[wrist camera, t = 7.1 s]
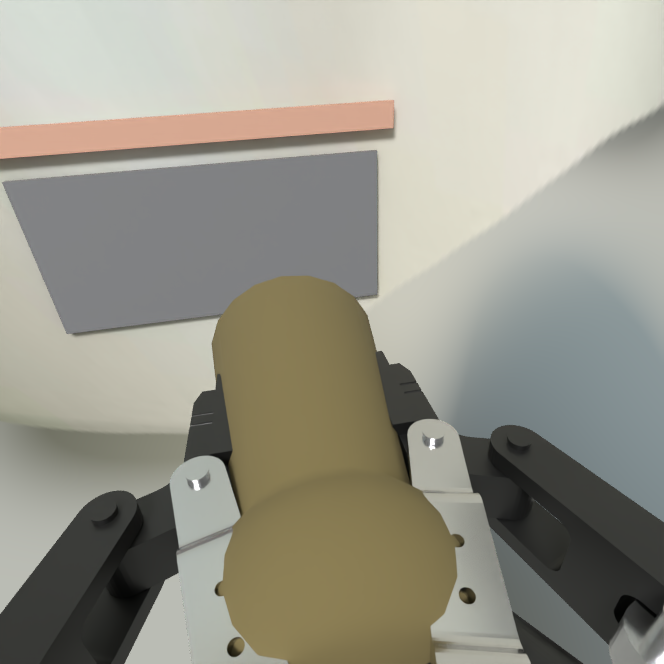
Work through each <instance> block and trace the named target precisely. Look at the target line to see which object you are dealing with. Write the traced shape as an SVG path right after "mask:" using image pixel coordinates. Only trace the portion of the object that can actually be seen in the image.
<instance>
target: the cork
mask: <svg viewBox="0 0 664 664" xmlns="http://www.w3.org/2000/svg"><path fill="white" fill-rule="evenodd" d="M212 350H213V360H214V369H215V377H216V380H217V374H220V375H221V380H222V387H223V393H224V399H225V405H226V411H227V418H228V424H229V430H230V436H231V443H232V449H233V451H232V454H231V457H230V460H229V463H228V465H229V472H230V479H231V486H232V490H233V493H234V497H235V500H236V503H237V506H238V510H239V513H240V516H241V517H240V519H239V520H238V521H237V522H236V523H235V524H234V525H233V526H232V529H233V532H232V536H231V539H230V542H229V544H228V547H227V550H226V552H225V556H224V570H223V581H222V582H221V583H220V585H219V587H218V589H217V592H216V595H217V596H224V598H225V602H226V605H227V609H228V612H229V616H230V619H231V622H232V625H233V627H234V628H235V629H236V630H237V631H238V632H239V634H240V635H241V636H242V637H243V638H244V640H245V641H246V642H247V643H248V644H249V646H250V647H251V648H252V649H253V650H254V651H255V653H256V654H257V655H259V656H264V657H270V658H276V659H283V660H287V662H288V664H428V663H430V641H431V633H430V626H431V625H433V624H434V623H435V622H436V621H437V620H438V619H439V618H440V617H442V616H443V615H444V614H445V611H446V608H447V605H448V602H449V600H450V597H451V594H452V591H453V588H454V585H455V582H456V580H457V577H458V576H457V564H456V552H455V547H462V546H461V545H460V543H459V542H458V540H457V539H456V538H455V536H453V535H451V534H450V532H449V530H448V528H447V526H446V524H445V522H444V520H443V518H442V516H441V514H440V512H439V511H438V510H437V509H436V508H435V507H434V506H433V505H432V504H431V503H430V502H429V501H428V500H427V498H426V497H425V496H424V494H423V491H421V490H419V489H417V488H415V487H413V486H411V485H410V481H409V477H408V473H407V469H406V465H405V461H404V457H403V454H402V450H401V446H400V442H399V438H398V434H397V432H396V431H395V429H394V428H393V427H392V424H391V421H390V418H389V414H388V409H387V405H386V400H385V395H384V391H383V386H382V382H381V377H380V372H379V368H378V363H377V358H376V354H375V352H377V351H376V347H375V343H374V339H373V335H372V331H371V328H370V324H369V320H368V316H367V314H366V313H365V311H364V310H363V308H362V307H361V306H360V304H359V303H358V301H357V300H356V299H355V297H354V296H352V295H351V294H350V293H348V292H347V291H345V290H344V289H342V288H341V287H339V286H338V285H336V284H335V283H333V282H329V281H326V280H322V279H319V278H315V277H312V276H280V277H277V278H274V279H271V280H268V281H265V282H262V283H259V284H256V285H254V286H252V287H251V288H250V289H248V290H247V291H245V292H244V293H243V294H241V295H240V296H238V297H237V298H235V299H234V300H233V301H232V302H231V304H230V305H229V306H228V308H227V309H226V310H225V312H224V313H223V315H222V316H221V317H220V319H219V320H218V323H217V326H216V330H215V333H214V337H213V341H212ZM459 597H460V599H461V601H462V602H464V603H466V604H470V603H469V600H468V598H467V596H466V595H465V594H464V593H459ZM244 640H243V639H241V638H240V639H238V640H237V641H236V642H235V644H234V646H233V648H232V652H231V657H237V656H239V655H240V654H241V653H242V652H243V650H244V647H245V642H244Z"/></svg>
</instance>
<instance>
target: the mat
mask: <svg viewBox="0 0 664 664" xmlns="http://www.w3.org/2000/svg"><path fill="white" fill-rule="evenodd" d="M2 184H3V186H4V188H5V191H6V193H7V195H8V198H9V200H10V202H11V205H12V207H13V209H14V212H15V214H16V216H17V219H18V221H19V223H20V226H21V228H22V230H23V233H24V235H25V237H26V240H27V242H28V244H29V247H30V249H31V251H32V254H33V256H34V258H35V261H36V263H37V265H38V268H39V270H40V272H41V275H42V277H43V279H44V282H45V284H46V286H47V289H48V291H49V293H50V296H51V298H52V300H53V303H54V305H55V307H56V310H57V312H58V314H59V317H60V319H61V321H62V324H63V326H64V328H65V331H66V333H67V334H71V333H79V332H87V331H95V330H102V329H110V328H118V327H126V326H134V325H142V324H149V323H157V322H165V321H173V320H181V319H189V318H196V317H204V316H212V315H220V314H223V313H224V312H225V310H226V309H227V308H228V306H229V305H230V304H231V302H232V301H233V300H234V299H235V298H237V297H238V296H240V295H241V294H243V293H244V292H245V291H247V290H248V289H250V288H251V287H252V286H254V285H256V284H259V283H262V282H265V281H268V280H271V279H274V278H277V277H280V276H312V277H315V278H319V279H322V280H326V281H329V282H333V283H335V284H336V285H338V286H339V287H341V288H342V289H344V290H345V291H347V292H348V293H350V294H351V295H352V296H354V297H361V296H369V295H377V151H376V150H371V151H359V152H347V153H335V154H323V155H311V156H300V157H288V158H276V159H264V160H252V161H240V162H228V163H217V164H205V165H193V166H181V167H169V168H157V169H145V170H134V171H122V172H110V173H98V174H86V175H74V176H62V177H51V178H39V179H27V180H15V181H5V182H2Z"/></svg>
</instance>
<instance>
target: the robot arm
mask: <svg viewBox="0 0 664 664" xmlns="http://www.w3.org/2000/svg"><path fill="white" fill-rule="evenodd" d="M375 354H376V358H377V363H378V368H379V372H380V377H381V382H382V386H383V391H384V395H385V400H386V405H387V409H388V414H389V418H390V421H391V424H392V427H393V428H394V429H395V431H396V432H397V434H398V438H399V442H400V446H401V450H402V454H403V457H404V461H405V465H406V469H407V473H408V477H409V481H410V485H411V486H413V487H415V488H417V489H419V490H421V491H423V494H424V496H425V497H426V498H427V500H428V501H429V502H430V503H431V504H432V505H433V506H434V507H435V508H436V509H437V510H438V511H439V512H440V514H441V516H442V518H443V520H444V522H445V524H446V526H447V528H448V530H449V532H450V534H451V535H453V536H455V538H456V539H457V540H458V542H459V543H460V545H461V546H462V547H455V552H456V564H457V576H458V577H457V580H456V582H455V585H454V588H453V591H452V594H451V597H450V600H449V602H448V605H447V608H446V611H445V614H444V615H443V616H442V617H440V618H439V619H438V620H437V621H436V622H435V623H434V624H433V625H431V626H430V633H431V641H430V663H428V664H583V663H582V662H580V661H579V660H577V659H576V658H575V657H573V656H572V655H571V654H569V653H568V652H567V651H565V650H564V649H562V648H561V647H560V646H558V645H557V644H556V643H554V642H553V641H552V640H550V639H549V638H548V637H546V636H545V635H544V634H542V633H541V632H540V631H538V630H537V629H536V628H534V627H533V626H532V625H530V624H529V623H527V622H526V621H525V620H523V619H522V618H521V617H519V616H518V615H517V614H515V613H514V612H513V611H512V610H511V606H510V603H509V599H508V595H507V591H506V587H505V583H504V580H503V576H502V572H501V569H500V565H499V561H498V557H497V553H496V550H495V546H494V542H493V539H492V535H491V531H490V527H491V528H492V529H493V530H494V531H495V532H496V533H497V534H498V535H499V536H500V537H501V538H502V539H503V540H504V541H505V542H506V543H507V544H508V545H509V546H510V547H511V548H512V549H513V550H514V551H515V552H516V553H517V554H518V555H519V556H520V557H521V558H522V559H523V560H524V561H525V562H526V563H527V564H528V565H529V566H530V567H531V568H532V569H533V570H534V571H535V572H536V573H537V574H538V575H539V576H540V577H541V578H542V579H543V580H544V581H545V582H546V583H547V584H548V585H549V586H550V587H551V588H552V589H553V590H554V591H555V592H556V593H557V594H558V595H559V596H560V597H561V598H562V599H563V600H564V601H565V602H566V603H567V604H568V605H569V606H570V607H571V608H572V609H573V610H574V611H575V612H576V613H577V614H578V615H579V616H581V618H582V619H583V620H584V621H585V622H586V623H587V624H588V625H589V626H590V627H591V628H592V629H593V630H594V631H596V633H597V634H598V635H599V636H600V637H601V638H602V639H603V640H604V641H606V643H607V644H608V645H609V652H610V657H611V660H612V663H613V664H664V522H662V521H661V520H660V519H658V518H657V517H655V516H654V515H652V514H651V513H649V512H648V511H647V510H645V509H644V508H642V507H641V506H639V505H638V504H637V503H635V502H634V501H632V500H631V499H629V498H628V497H627V496H625V495H624V494H622V493H621V492H619V491H618V490H617V489H615V488H614V487H612V486H611V485H609V484H608V483H607V482H605V481H603V480H602V479H601V478H599V477H598V476H596V475H595V474H593V473H592V472H591V471H589V470H588V469H587V468H585V467H584V466H582V465H581V464H579V463H578V462H577V461H575V460H573V459H572V458H571V457H569V456H568V455H567V454H565V453H564V452H562V451H561V450H559V449H558V448H556V447H555V446H554V445H552V444H551V443H549V442H548V441H546V440H545V439H544V438H542V437H541V436H539V435H538V434H537V433H535V432H533V431H532V430H529V429H527V428H524V427H521V426H516V425H505V426H501V427H498V428H497V429H495V430H494V431H493V432H492V434H491V438H490V439H486V438H474V437H465V436H461V435H458V433H457V431H456V430H455V429H454V428H453V427H452V426H451V425H449V424H448V423H446V422H443V421H440V420H439V419H438V417H437V416H436V414H435V412H434V411H433V409H432V407H431V405H430V404H429V402H428V400H427V399H426V397H425V395H424V393H423V392H422V391H421V389H420V387H419V385H418V383H416V380H415V378H414V376H413V375H412V373H411V371H409V370H408V369H407V368H405V367H404V366H402V365H401V364H400V363H398V364H391V365H389V363H388V361H387V359H386V357H385V355H384V354H383V352H382V351H378V352H375ZM232 451H233V449H232V443H231V436H230V430H229V424H228V418H227V411H226V405H225V399H224V393H223V387H222V380H221V375H220V374H217V380H216V390H211V391H204V392H202V393H201V394H200V396H199V397H198V398H197V400H196V401H195V402H194V405H193V411H192V417H191V423H190V429H189V435H188V441H187V447H186V452H185V458H184V463H183V464H181V465H180V466H179V467H178V468H177V469H176V470H175V471H174V473H173V475H172V477H171V479H170V483H169V484H168V485H166V486H165V487H163V488H161V489H159V490H157V491H155V492H153V493H151V494H149V495H146V496H144V497H141V498H139V499H137V500H136V498H135V497H134V496H133V495H132V494H131V493H129V492H126V491H112V492H108V493H105V494H102V495H100V496H98V497H97V498H95V499H93V500H92V501H90V502H89V503H88V504H87V505H85V506H84V507H83V509H81V511H80V512H79V513H78V514H77V516H76V517H75V518H74V520H73V521H72V522H71V523H70V525H69V526H68V527H67V529H66V530H65V531H64V532H63V534H62V535H61V537H60V538H59V539H58V540H57V541H56V543H55V544H54V545H53V547H52V548H51V549H50V551H49V552H48V553H47V554H46V556H45V557H44V558H43V560H42V561H41V562H40V564H39V565H38V566H37V567H36V569H35V570H34V571H33V573H32V574H31V575H30V577H29V578H28V579H27V580H26V582H25V583H24V584H23V585H22V587H21V588H20V589H19V591H18V592H17V593H16V595H15V596H14V597H13V598H12V600H11V601H10V602H9V604H8V605H7V606H6V607H5V609H4V610H3V612H2V613H1V614H0V664H124V663H125V661H126V659H127V657H128V655H129V653H130V651H131V649H132V647H133V645H134V643H135V641H136V639H137V637H138V635H139V633H140V631H141V629H142V627H143V625H144V622H145V621H146V619H147V616H148V614H149V612H150V610H151V608H152V606H153V604H154V602H155V600H156V598H157V596H158V594H159V592H160V590H161V588H162V586H163V584H164V581H165V580H166V579H168V578H170V577H171V576H173V575H175V574H177V573H179V578H180V584H181V592H182V598H183V606H184V613H185V620H186V626H187V633H188V640H189V647H190V654H191V661H192V664H288V662H287V660H283V659H276V658H270V657H264V656H259V655H257V654H256V653H255V651H254V650H253V649H252V648H251V647H250V646H249V644H248V643H247V642H246V641H245V640H244V638H243V637H242V636H241V635H240V634H239V632H238V631H237V630H236V629H235V628H234V627H233V625H232V622H231V619H230V616H229V612H228V609H227V605H226V602H225V598H224V596H217V595H216V592H217V589H218V587H219V585H220V583H221V582H222V581H223V570H224V556H225V552H226V550H227V547H228V544H229V542H230V539H231V536H232V532H233V529H232V526H233V525H234V524H235V523H236V522H237V521H238V520H239V519H240V517H241V516H240V513H239V510H238V506H237V503H236V500H235V497H234V493H233V490H232V486H231V479H230V472H229V465H228V463H229V460H230V457H231V454H232ZM535 500H536V501H537V502H538V503H539V504H540V505H539V504H538V503H537V502H536V501H535ZM542 506H543V507H544V508H545V509H546V510H545V509H544V508H543V507H542ZM548 511H549V512H550V513H551V514H552V515H553V516H552V515H551V514H550V513H549V512H548ZM555 517H556V518H557V519H558V520H559V521H558V520H557V519H556V518H555ZM489 526H490V527H489ZM459 593H464V594H465V595H466V596H467V598H468V600H469V603H470V604H466V603H464V602H462V601H461V599H460V597H459ZM240 638H241V639H243V640H244V642H245V647H244V650H243V652H242V653H241V654H240V655H239V656H237V657H231V652H232V648H233V646H234V644H235V642H236V641H237V640H238V639H240Z"/></svg>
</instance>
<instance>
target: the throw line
mask: <svg viewBox="0 0 664 664" xmlns="http://www.w3.org/2000/svg"><path fill="white" fill-rule="evenodd" d="M393 125H394V100H387V101H373V102H358V103H344V104H330V105H315V106H301V107H287V108H272V109H258V110H244V111H230V112H215V113H201V114H187V115H172V116H158V117H144V118H129V119H115V120H101V121H86V122H72V123H58V124H43V125H29V126H15V127H0V159H4V158H16V157H29V156H42V155H55V154H68V153H80V152H93V151H106V150H119V149H132V148H144V147H157V146H170V145H183V144H196V143H208V142H221V141H234V140H247V139H259V138H272V137H285V136H298V135H311V134H323V133H336V132H349V131H362V130H375V129H387V128H393Z"/></svg>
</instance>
